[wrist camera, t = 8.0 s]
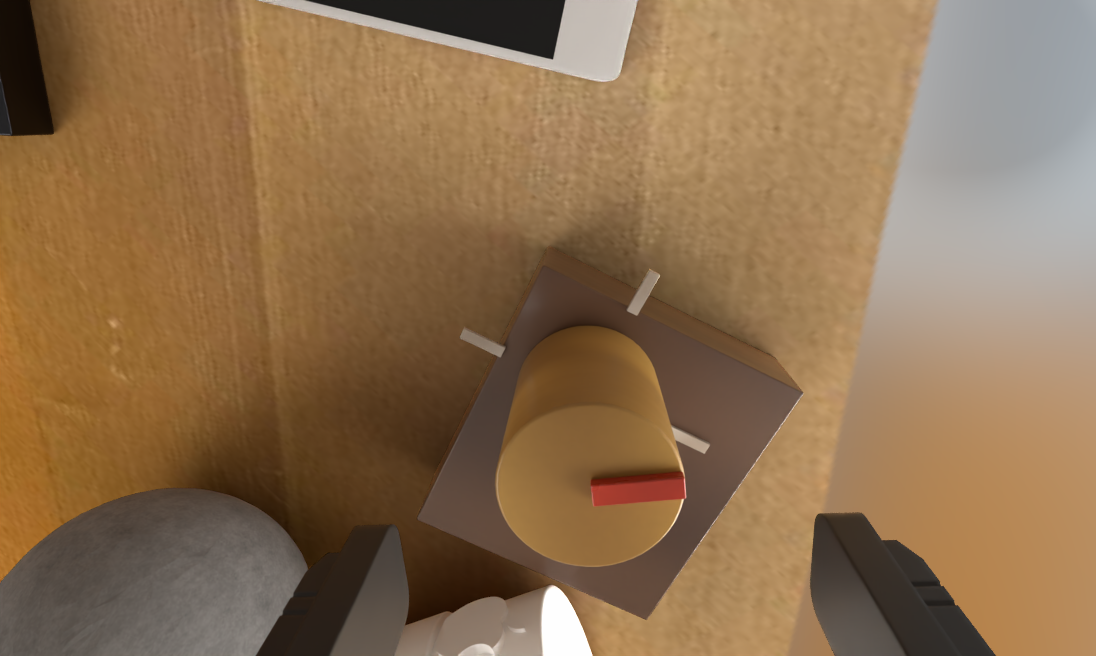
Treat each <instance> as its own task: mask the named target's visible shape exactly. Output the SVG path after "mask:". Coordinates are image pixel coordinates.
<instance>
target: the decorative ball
mask: <svg viewBox="0 0 1096 656" xmlns="http://www.w3.org/2000/svg"><path fill="white" fill-rule="evenodd" d="M306 571H308V567H307V564H306V562H305V560H304V557H303V555H302V553H301V552H300V550H299V548H298V547H297V545H296V544H295V542H294V541H293V540H292V538H291V537H290V536H289V534H288V533H287V532H286V531H285V530H284V529H283V528H282V527H281V526H280V525H279V524H278V523H277V522H276V521H275V520H274V519H272V518H271V517H270V516H269V515H267V514H266V513H265V512H263V511H262V510H260V509H259V508H257V507H255V506H253V505H251V504H249V503H247V502H245V501H243V500H241V499H239V498H236V497H233V496H230V495H227V494H224V493H220V492H215V491H210V490H204V489H196V488H166V489H156V490H151V491H145V492H140V493H135V494H132V495H128V496H125V497H121V498H118V499H115V500H113V501H110V502H107V503H104V504H102V505H100V506H98V507H96V508H93V509H91V510H89V511H87V512H84V513H82V514H80V515H79V516H77V517H75V518H73V519H72V520H70V521H68V522H67V523H65V524H64V525H62V526H60V527H59V528H57V529H56V530H55V531H53V532H52V533H51V534H49V535H48V536H47V537H45V538H44V539H43V540H42V541H40V542H39V543H38V544H37V545H36V546H34V547H33V548H32V549H31V550H30V551H29V552H28V553H27V554H26V555H25V556H24V557H23V558H22V559H21V560H20V561H19V562H18V563H17V565H16V566H15V567H14V568H13V569H12V570H11V571H10V572H9V573H8V574H7V575H6V576H5V577H4V579H3V580H2V581H1V583H0V656H256V654H257V653H258V651H259V649H260V648H261V646H262V644H263V643H264V641H265V639H266V638H267V636H268V634H269V633H270V631H271V629H272V628H273V626H274V624H275V623H276V621H277V619H278V618H279V616H280V615H282V614H283V609H284V608H285V606H286V604H287V603H288V601H289V599H290V598H291V597H293V593H294V591H295V589H296V588H297V586H298V584H299V583H300V581H301V579H302V578H303V576H304V574H305V573H306Z"/></svg>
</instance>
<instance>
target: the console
mask: <svg viewBox="0 0 1096 656" xmlns="http://www.w3.org/2000/svg"><path fill="white" fill-rule="evenodd" d="M659 276H660V274H659V273H657V272H655V271H653V270H651V269H649V270H648V271H647V273H646V275H645V277H644V278H643V280H642V282H641V284H640V286H639V287H638V289H635V288H633V287H631V286H629V285H627V284H625V283H623V282H621V281H619V280H617V279H615V278H613V277H611V276H609V275H607V274H605V273H602V272H600V271H598V270H596V269H594V268H592V267H590V266H588V265H586V264H584V263H582V262H580V261H578V260H576V259H574V258H572V257H570V256H568V255H566V254H564V253H562V252H560V251H558V250H556V249H554V248H552V247H550V246H548V247H547V248H546V250H545V253H544V255H543V257H542V259H541V261H540V263H539V265H538V267H537V269H536V271H535V273H534V275H533V277H532V279H531V281H530V283H529V285H528V287H527V289H526V291H525V293H524V295H523V297H522V299H521V301H520V303H519V305H518V307H517V309H516V311H515V313H514V315H513V317H512V319H511V321H510V323H509V325H508V327H507V329H506V331H505V333H504V335H503V337H502V339H501V341H500V343H498V342H495V341H493V340H491V339H489V338H487V337H485V336H483V335H481V334H479V333H476V332H474V331H472V330H470V329H468V328H466V327H464V329H463V331H462V333H461V336H460V339H462V340H464V341H467V342H469V343H471V344H473V345H475V346H477V347H479V348H481V349H483V350H486V351H488V352H490V353H492V354H494V355H493V357H492V359H491V361H490V363H489V365H488V367H487V369H486V371H485V373H484V375H483V377H482V379H481V381H480V383H479V385H478V387H477V389H476V391H475V393H474V395H473V397H472V399H471V401H470V403H469V406H468V408H467V410H466V412H465V414H464V416H463V418H462V420H461V422H460V424H459V426H458V428H457V430H456V432H455V434H454V436H453V438H452V440H451V442H450V444H449V446H448V448H447V450H446V452H445V454H444V456H443V458H442V460H441V462H440V464H439V466H438V468H437V470H436V472H435V474H434V477H433V479H432V482H431V484H430V486H429V489H428V491H427V494H426V496H425V499H424V501H423V504H422V506H421V509H420V511H419V513H418V516H417V520H419V521H421V522H424V523H426V524H428V525H430V526H433V527H435V528H437V529H440V530H442V531H444V532H446V533H449V534H451V535H453V536H456V537H458V538H460V539H462V540H465V541H467V542H469V543H472V544H474V545H476V546H478V547H481V548H483V549H485V550H488V551H490V552H492V553H494V554H497V555H499V556H501V557H504V558H506V559H508V560H510V561H513V562H515V563H517V564H520V565H522V566H524V567H526V568H529V569H531V570H533V571H536V572H538V573H540V574H542V575H545V576H547V577H549V578H552V579H554V580H556V581H558V582H561V583H563V584H565V585H568V586H570V587H572V588H574V589H577V590H579V591H581V592H584V593H586V594H588V595H590V596H593V597H595V598H597V599H600V600H602V601H604V602H606V603H609V604H611V605H613V606H616V607H618V608H620V609H622V610H625V611H627V612H629V613H632V614H634V615H636V616H638V617H641V618H643V619H645V620H647V619H648V618H649V616H650V615H651V613H652V612H653V610H654V609H655V607H656V606H657V605H658V603H659V602H660V600H661V599H662V597H663V596H664V594H665V593H666V592H667V590H668V589H669V587H670V586H671V584H672V583H673V581H674V580H675V579H676V577H677V576H678V574H679V573H680V571H681V570H682V568H683V567H684V566H685V564H686V563H687V561H688V560H689V558H690V557H691V555H692V554H693V553H694V551H695V550H696V548H697V547H698V545H699V544H700V542H701V541H702V540H703V538H704V537H705V535H706V534H707V532H708V531H709V529H710V528H711V527H712V525H713V524H714V522H715V521H716V519H717V518H718V516H719V515H720V514H721V512H722V511H723V509H724V508H725V506H726V505H727V504H728V502H729V501H730V499H731V498H732V496H733V495H734V493H735V492H736V491H737V489H738V488H739V486H740V485H741V483H742V482H743V480H744V479H745V478H746V476H747V475H748V473H749V472H750V470H751V469H752V467H753V466H754V465H755V463H756V462H757V460H758V459H759V457H760V456H761V454H762V453H763V452H764V450H765V449H766V447H767V446H768V444H769V443H770V441H771V440H772V439H773V437H774V436H775V434H776V433H777V431H778V430H779V428H780V427H781V426H782V424H783V423H784V421H785V420H786V418H787V417H788V415H789V414H790V413H791V411H792V410H793V408H794V407H795V405H796V404H797V402H798V401H799V400H800V398H801V397H802V395H803V392H802V391H801V389H800V388H799V387H798V386H797V384H796V383H795V382H794V381H793V379H792V378H791V377H790V376H789V374H788V373H787V372H786V371H785V369H784V368H783V367H782V366H781V364H780V363H779V362H778V361H777V359H776V358H774V357H772V356H770V355H768V354H766V353H764V352H762V351H760V350H758V349H756V348H754V347H752V346H750V345H748V344H746V343H744V342H742V341H740V340H738V339H736V338H734V337H732V336H730V335H728V334H726V333H724V332H722V331H720V330H718V329H716V328H714V327H712V326H710V325H708V324H706V323H704V322H701V321H699V320H697V319H695V318H693V317H691V316H689V315H687V314H685V313H683V312H681V311H679V310H677V309H675V308H673V307H671V306H669V305H667V304H665V303H663V302H661V301H659V300H657V299H655V298H653V297H651V296H649V294H650V292H651V291H652V289H653V287H654V285H655V284H656V282H657V280H658V278H659ZM588 325H589V326H600V327H604V328H609V329H612V330H615V331H617V332H619V333H621V334H623V335H625V336H627V337H628V338H630V339H631V340H633V341H634V342H635V343H636V344H637V345H639V346H640V347H641V349H642V350H643V351H644V352H645V353H646V355H647V356H648V358H649V359H650V361H651V363H652V365H653V367H654V370H655V373H656V376H657V379H658V383H659V386H660V390H661V393H662V396H663V400H664V403H665V407H666V410H667V414H668V417H669V420H670V424H671V427H672V431H673V434H674V438H675V441H676V444H677V448H678V451H679V455H680V458H681V461H682V465H683V468H684V475H685V487H686V499H684V500H683V504H682V507H681V510H680V512H679V515H678V517H677V519H676V521H675V523H674V524H673V526H672V527H671V529H670V530H669V531H668V533H667V534H666V535H665V536H664V537H663V538H662V539H661V540H660V541H659V542H658V543H657V544H656V545H654V546H653V547H652V548H650V549H649V550H647V551H646V552H644V553H643V554H641V555H639V556H637V557H635V558H633V559H630V560H627V561H624V562H621V563H617V564H613V565H608V566H600V567H584V566H574V565H569V564H564V563H561V562H558V561H555V560H552V559H550V558H548V557H545V556H543V555H541V554H540V553H538V552H536V551H534V550H533V549H531V548H530V547H529V546H528V545H526V544H525V543H524V542H523V541H522V540H521V539H520V538H519V537H518V536H517V535H516V534H515V533H514V532H513V531H512V529H511V528H510V527H509V525H508V523H507V522H506V520H505V518H504V517H503V515H502V512H501V510H500V507H499V504H498V501H497V497H496V489H495V475H496V469H497V464H498V460H499V456H500V452H501V447H502V443H503V439H504V435H505V431H506V426H507V422H508V418H509V414H510V410H511V406H512V401H513V397H514V393H515V389H516V385H517V380H518V376H519V373H520V370H521V367H522V365H523V363H524V361H525V359H526V358H527V356H528V355H529V353H530V352H531V351H532V350H533V349H534V348H535V346H536V345H537V344H539V343H540V342H541V341H542V340H544V339H545V338H547V337H548V336H550V335H551V334H553V333H556V332H558V331H560V330H563V329H566V328H570V327H576V326H588Z"/></svg>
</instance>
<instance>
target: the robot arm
mask: <svg viewBox="0 0 1096 656" xmlns="http://www.w3.org/2000/svg"><path fill="white" fill-rule="evenodd" d="M810 588H811V597H812V602H813V606H814V610H815V613H816V616H817V618H818V621H819V623H820V625H821V627H822V629H823V631H824V633H825V636H826V638H827V640H828V642H829V645H830V646H831V649H832V651H833V653H834V655H835V656H996V655H995V654H994V653H993V651H992V650H991V649H990V648H989V646H988V645H987V643H986V642H985V641H984V639H983V638H982V637H981V635H980V634H979V633H978V631H977V630H976V629H975V628H974V626H973V625H972V623H971V622H970V621H969V619H968V618H967V617H966V616H965V614H964V613H963V612H962V610H961V609H960V608H959V606H958V605H957V606H956V605H955V603H954V600H953V598H952V597H951V596H950V595H949V593H948V592H947V591H946V589H945V588H944V586H941V585H940V581H939V580H938V578H937V577H936V576H935V574H934V573H933V572H932V570H931V569H930V568H929V567H928V565H927V564H926V563H925V562H924V560H923V559H922V558H921V557H919V556H918V555H916V554H915V553H914V552H912V551H911V550H909V549H908V548H907V547H905V546H904V545H902V544H901V543H900V542H898V541H897V540H881V538H880V537H879V536H878V534H877V533H876V531H875V530H874V528H873V527H872V525H871V524H870V522H869V521H868V520H867V518H866V517H865V516H864V515H863V514H862V513H824V514H818V515H817V516H816V519H815V525H814V538H813V551H812V564H811V577H810ZM408 607H409V588H408V582H407V576H406V571H405V565H404V559H403V554H402V548H401V542H400V537H399V532H398V529H397V527H396V526H395V525H394V524H390V525H357V526H355V527H354V528H353V530H352V532H351V533H350V535H349V537H348V539H347V541H346V543H345V544H344V546H343V548H342V550H341V552H340V553H327V554H326V555H325V556H324V557H322V558H321V559H320V560H319V561H318V562H317V563H316V564H314V565H313V566H312V567H311V568H310V569H309V570H308V571H306V573H305V574H304V576H303V578H302V579H301V581H300V583H299V584H298V586H297V588H296V589H295V591H294V593H293V597H291V598H290V599H289V601H288V603H287V604H286V606H285V608H284V609H283V614H282V615H280V616H279V618H278V619H277V621H276V623H275V624H274V626H273V628H272V629H271V631H270V633H269V634H268V636H267V638H266V639H265V641H264V643H263V644H262V646H261V648H260V649H259V651H258V653H257V654H256V656H394V655H395V652H396V649H397V646H398V643H399V640H400V638H401V635H402V632H403V629H404V626H405V623H406V619H407V614H408Z"/></svg>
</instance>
